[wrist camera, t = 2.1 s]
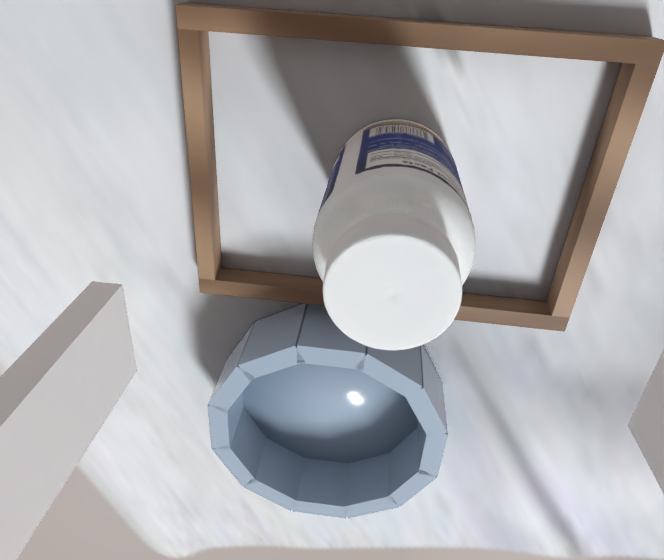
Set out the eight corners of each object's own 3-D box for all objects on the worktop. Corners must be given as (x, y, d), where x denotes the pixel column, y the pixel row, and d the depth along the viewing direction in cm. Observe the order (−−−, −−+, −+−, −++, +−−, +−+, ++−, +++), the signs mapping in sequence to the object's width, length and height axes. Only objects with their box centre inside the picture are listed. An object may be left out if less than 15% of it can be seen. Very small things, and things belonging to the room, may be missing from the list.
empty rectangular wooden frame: (186, 2, 21) (175, 4, 20) (653, 37, 19) (667, 41, 18) (207, 279, 27) (199, 292, 26) (558, 316, 26) (564, 331, 25)
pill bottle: (385, 254, 25) (379, 396, 17) (308, 171, 24) (259, 284, 15) (481, 185, 23) (528, 310, 15) (404, 87, 21) (408, 167, 13)
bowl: (223, 293, 27) (201, 334, 24) (457, 317, 27) (464, 364, 24) (232, 452, 34) (215, 501, 31) (422, 475, 33) (424, 528, 30)
